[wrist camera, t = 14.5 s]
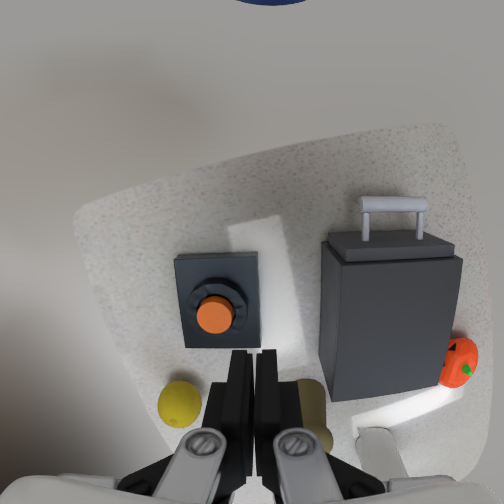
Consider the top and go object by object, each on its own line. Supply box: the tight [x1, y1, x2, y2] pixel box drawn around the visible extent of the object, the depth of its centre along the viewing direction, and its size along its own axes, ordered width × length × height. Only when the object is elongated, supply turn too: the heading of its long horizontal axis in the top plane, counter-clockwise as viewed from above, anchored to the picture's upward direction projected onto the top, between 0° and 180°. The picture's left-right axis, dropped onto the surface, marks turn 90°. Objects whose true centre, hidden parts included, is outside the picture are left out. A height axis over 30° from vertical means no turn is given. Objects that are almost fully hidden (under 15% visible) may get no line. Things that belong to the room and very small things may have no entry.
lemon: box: [158, 381, 202, 428], centre depth 37 cm, size 6×6×8 cm
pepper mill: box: [297, 379, 334, 454], centre depth 35 cm, size 6×6×11 cm
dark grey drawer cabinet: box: [319, 242, 463, 402], centre depth 32 cm, size 15×13×10 cm
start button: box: [197, 296, 233, 333], centre depth 33 cm, size 4×4×2 cm
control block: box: [174, 252, 261, 348], centre depth 35 cm, size 11×9×4 cm
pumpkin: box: [439, 337, 478, 388], centre depth 35 cm, size 7×8×6 cm
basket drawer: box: [328, 196, 455, 263], centre depth 31 cm, size 18×11×8 cm, turn 3°
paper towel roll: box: [356, 427, 409, 481], centre depth 32 cm, size 7×6×21 cm
